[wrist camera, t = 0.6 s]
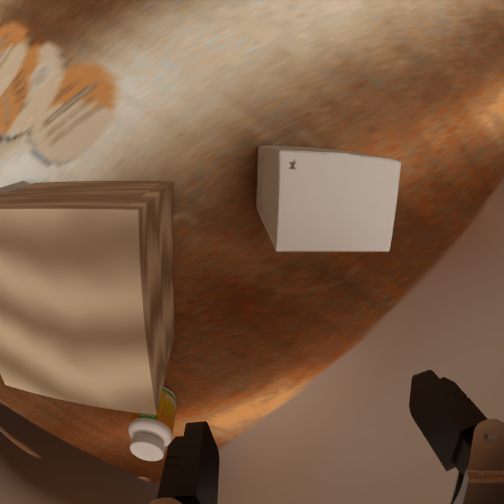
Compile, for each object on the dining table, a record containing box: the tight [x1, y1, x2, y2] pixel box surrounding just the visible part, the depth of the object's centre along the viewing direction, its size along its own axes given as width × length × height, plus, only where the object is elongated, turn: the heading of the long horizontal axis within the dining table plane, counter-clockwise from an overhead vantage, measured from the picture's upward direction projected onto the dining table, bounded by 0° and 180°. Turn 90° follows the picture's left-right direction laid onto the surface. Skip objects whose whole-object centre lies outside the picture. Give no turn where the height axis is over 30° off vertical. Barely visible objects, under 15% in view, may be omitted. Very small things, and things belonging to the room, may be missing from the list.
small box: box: [256, 146, 401, 252], centre depth 25 cm, size 8×6×13 cm
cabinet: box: [0, 181, 175, 415], centre depth 26 cm, size 17×16×13 cm
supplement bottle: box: [129, 386, 177, 461], centre depth 35 cm, size 5×5×10 cm
